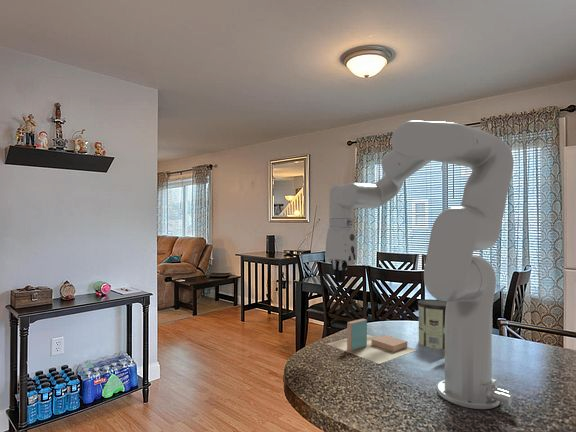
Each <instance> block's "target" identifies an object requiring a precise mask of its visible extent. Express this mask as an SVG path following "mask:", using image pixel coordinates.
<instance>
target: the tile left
mask: <svg viewBox="0 0 576 432" xmlns="http://www.w3.org/2000/svg"><path fill="white" fill-rule="evenodd" d="M346 325H347V326H346V330H347V331H346V332H347V333H346V339H347V350H350V351H353V350H356V349H359V348H362V347H366V346H367V335H368V319H366V318H359V319H355V320H351V321H347V324H346Z"/></svg>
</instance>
